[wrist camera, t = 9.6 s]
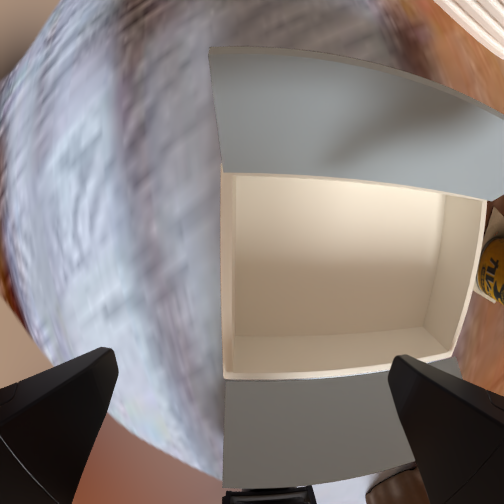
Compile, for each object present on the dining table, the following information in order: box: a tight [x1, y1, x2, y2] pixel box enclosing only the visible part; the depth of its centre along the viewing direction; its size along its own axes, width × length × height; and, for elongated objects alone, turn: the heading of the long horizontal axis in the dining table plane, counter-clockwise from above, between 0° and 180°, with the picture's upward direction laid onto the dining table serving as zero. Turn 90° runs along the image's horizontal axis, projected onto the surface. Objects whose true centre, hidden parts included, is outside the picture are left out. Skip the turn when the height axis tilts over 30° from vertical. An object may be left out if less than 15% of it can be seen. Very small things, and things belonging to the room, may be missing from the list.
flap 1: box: [208, 46, 504, 201], centre depth 10 cm, size 7×18×1 cm
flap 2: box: [223, 357, 462, 489], centre depth 14 cm, size 7×18×1 cm
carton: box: [220, 164, 487, 380], centre depth 18 cm, size 13×18×5 cm
